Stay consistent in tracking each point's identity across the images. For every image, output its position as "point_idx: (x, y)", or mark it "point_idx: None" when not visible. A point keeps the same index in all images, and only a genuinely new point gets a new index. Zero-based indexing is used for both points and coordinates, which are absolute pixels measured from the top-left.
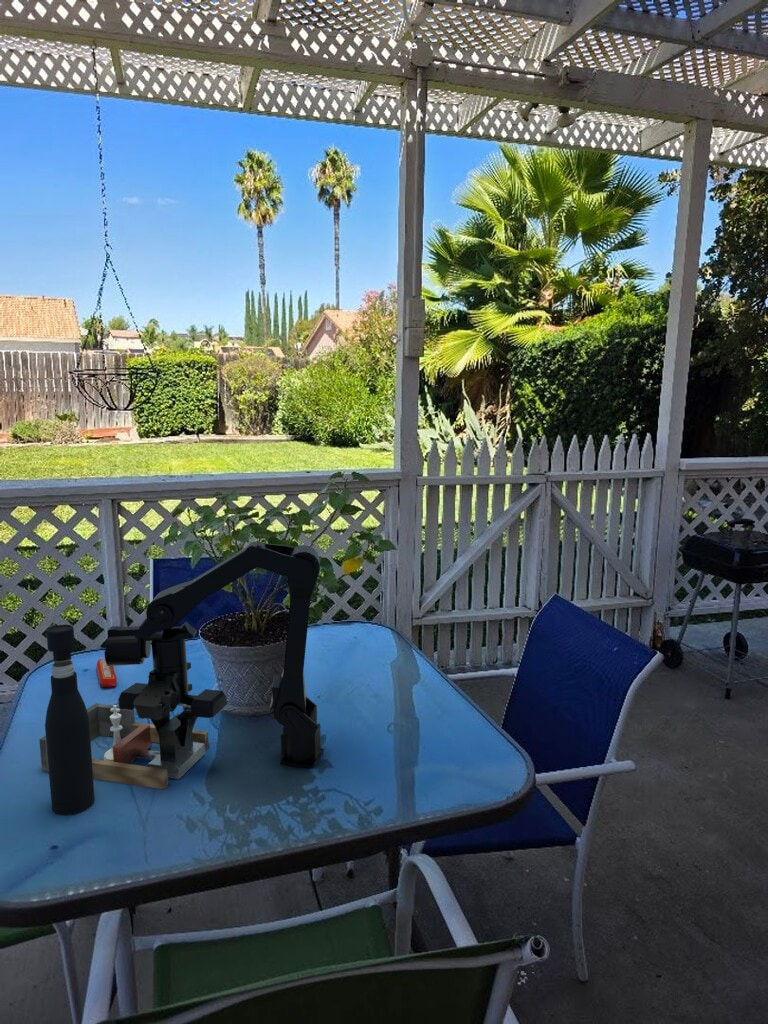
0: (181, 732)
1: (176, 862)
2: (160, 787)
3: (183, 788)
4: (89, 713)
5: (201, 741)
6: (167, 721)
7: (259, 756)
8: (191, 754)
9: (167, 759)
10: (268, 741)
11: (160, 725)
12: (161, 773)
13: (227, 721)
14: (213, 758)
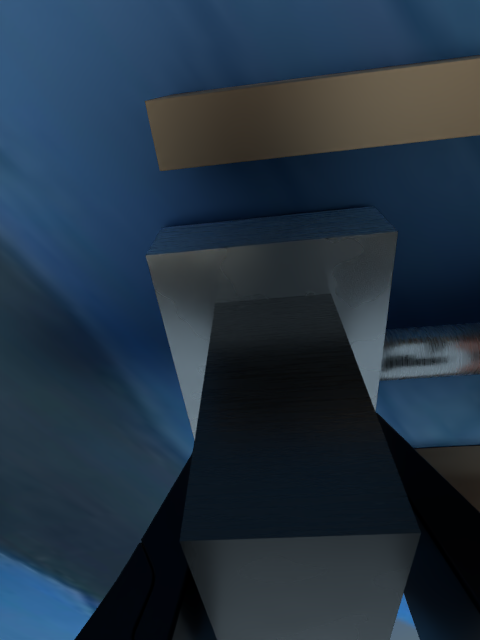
0: None
1: None
2: (199, 91)
3: (75, 158)
4: None
5: None
6: (419, 608)
7: (9, 470)
8: (191, 396)
9: (276, 306)
10: (67, 532)
11: (449, 570)
12: (163, 98)
13: None
14: (158, 420)
